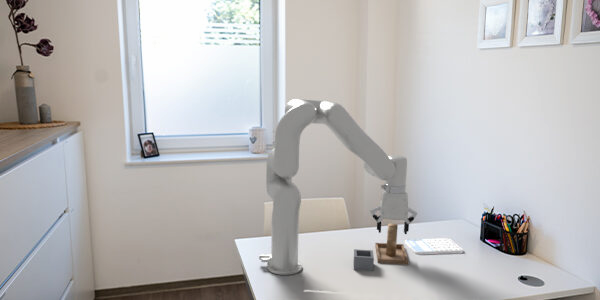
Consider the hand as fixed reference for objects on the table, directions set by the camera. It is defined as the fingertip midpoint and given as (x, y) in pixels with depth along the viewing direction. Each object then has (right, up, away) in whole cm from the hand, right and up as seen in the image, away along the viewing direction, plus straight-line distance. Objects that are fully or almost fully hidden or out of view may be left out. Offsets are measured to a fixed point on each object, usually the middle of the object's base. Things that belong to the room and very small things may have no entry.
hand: (392, 232), depth 176 cm
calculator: (+19, -9, +12) cm, 24 cm away
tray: (0, -10, +2) cm, 10 cm away
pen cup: (-12, -11, -9) cm, 19 cm away
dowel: (0, -9, +2) cm, 9 cm away
